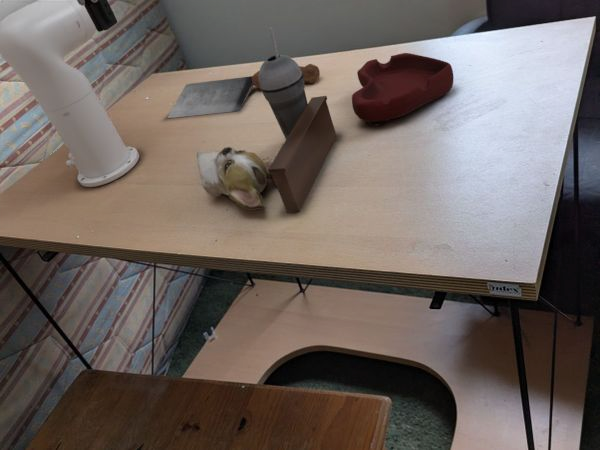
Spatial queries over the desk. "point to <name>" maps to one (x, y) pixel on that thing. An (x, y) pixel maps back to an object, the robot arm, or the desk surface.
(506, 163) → the desk surface
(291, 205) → the backboard
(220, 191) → the ceramic sculpture
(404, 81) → the ashtray
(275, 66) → the beverage cup
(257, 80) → the meat cleaver
